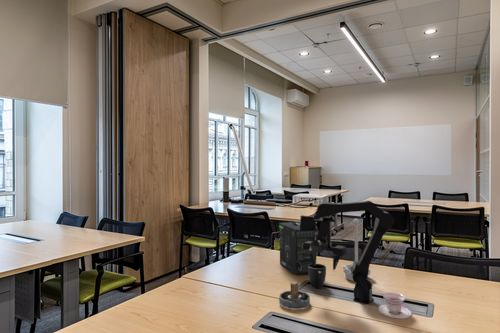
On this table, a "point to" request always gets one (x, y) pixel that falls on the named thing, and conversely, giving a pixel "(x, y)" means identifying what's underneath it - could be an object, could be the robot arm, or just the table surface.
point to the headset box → (294, 247)
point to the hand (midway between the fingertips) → (324, 267)
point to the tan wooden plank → (294, 290)
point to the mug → (317, 275)
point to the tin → (294, 301)
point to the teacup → (394, 306)
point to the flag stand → (347, 268)
